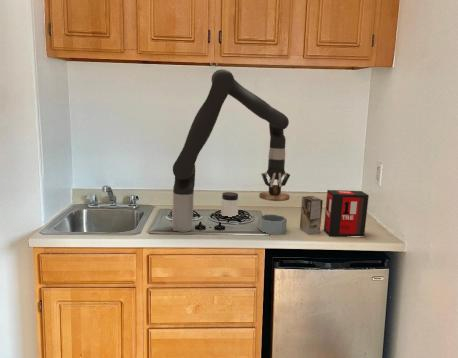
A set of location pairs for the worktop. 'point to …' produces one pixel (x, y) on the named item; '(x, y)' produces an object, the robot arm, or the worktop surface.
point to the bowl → (272, 224)
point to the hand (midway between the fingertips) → (274, 194)
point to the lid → (274, 195)
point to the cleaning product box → (345, 213)
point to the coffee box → (311, 214)
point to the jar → (229, 204)
